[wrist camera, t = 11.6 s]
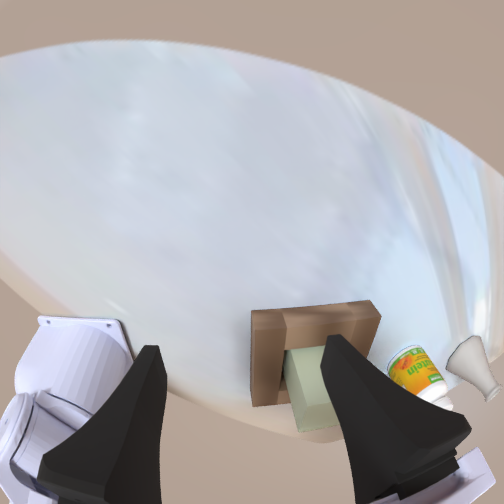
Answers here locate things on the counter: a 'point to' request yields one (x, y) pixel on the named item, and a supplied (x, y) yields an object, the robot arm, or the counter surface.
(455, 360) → the flask
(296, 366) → the peg
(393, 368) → the supplement bottle
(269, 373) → the socket
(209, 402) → the counter surface
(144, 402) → the robot arm
